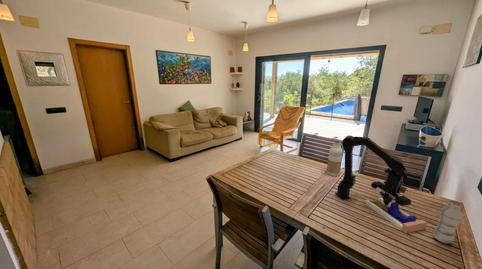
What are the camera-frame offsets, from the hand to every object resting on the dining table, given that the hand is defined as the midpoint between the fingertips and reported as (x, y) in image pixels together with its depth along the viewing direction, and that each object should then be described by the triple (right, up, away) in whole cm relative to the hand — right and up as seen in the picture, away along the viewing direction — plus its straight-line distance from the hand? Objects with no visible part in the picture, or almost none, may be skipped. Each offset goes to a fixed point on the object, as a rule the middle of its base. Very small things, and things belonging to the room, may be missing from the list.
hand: (386, 205), depth 107 cm
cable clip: (+2, -5, -6) cm, 8 cm away
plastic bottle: (+11, -9, -20) cm, 24 cm away
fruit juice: (-9, +9, +43) cm, 45 cm away
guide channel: (+1, -4, -2) cm, 4 cm away
